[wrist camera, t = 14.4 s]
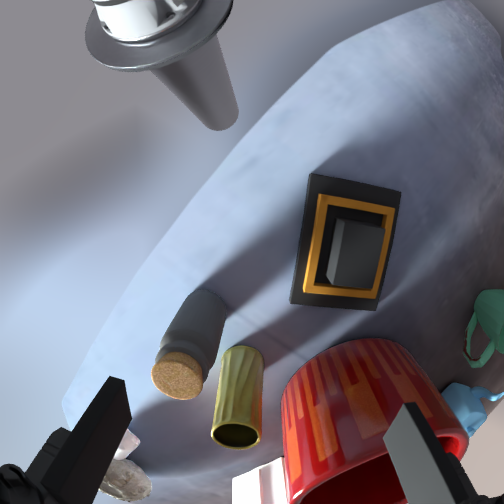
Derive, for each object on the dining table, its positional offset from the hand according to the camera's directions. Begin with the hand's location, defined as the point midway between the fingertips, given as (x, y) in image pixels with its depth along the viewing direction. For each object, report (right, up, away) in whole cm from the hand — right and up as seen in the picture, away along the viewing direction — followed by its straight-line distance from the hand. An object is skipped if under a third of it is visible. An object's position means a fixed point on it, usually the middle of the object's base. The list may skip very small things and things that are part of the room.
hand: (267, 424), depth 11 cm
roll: (-26, -29, +33) cm, 51 cm away
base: (+11, +8, +23) cm, 27 cm away
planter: (+15, -15, +29) cm, 36 cm away
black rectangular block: (+11, +8, +22) cm, 26 cm away
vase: (-2, -8, +28) cm, 29 cm away
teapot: (+40, -22, +30) cm, 55 cm away
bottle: (-7, 0, +26) cm, 27 cm away
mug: (+38, -3, +25) cm, 46 cm away
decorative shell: (-33, -44, +37) cm, 67 cm away
